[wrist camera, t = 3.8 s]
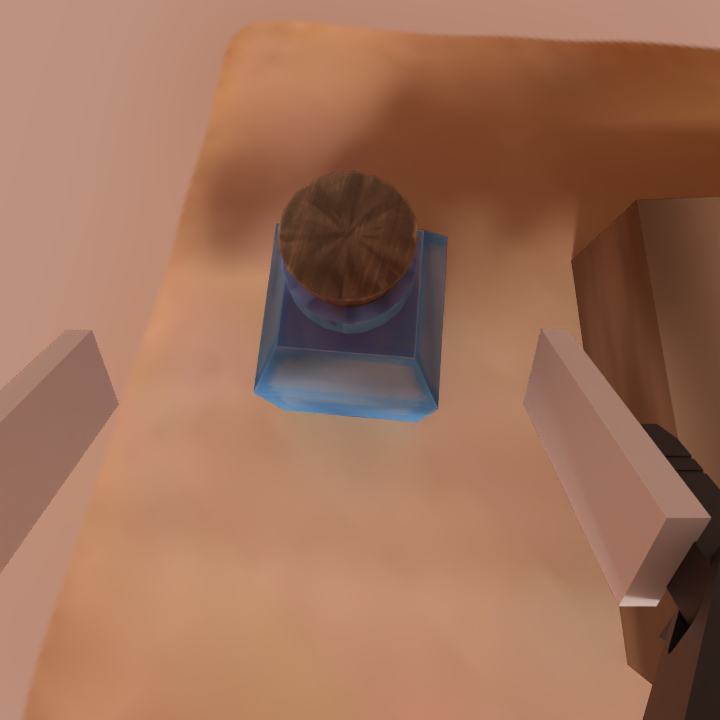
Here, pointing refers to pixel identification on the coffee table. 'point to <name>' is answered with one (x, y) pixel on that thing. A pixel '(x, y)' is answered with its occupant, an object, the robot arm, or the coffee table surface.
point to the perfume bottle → (353, 304)
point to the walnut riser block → (658, 346)
